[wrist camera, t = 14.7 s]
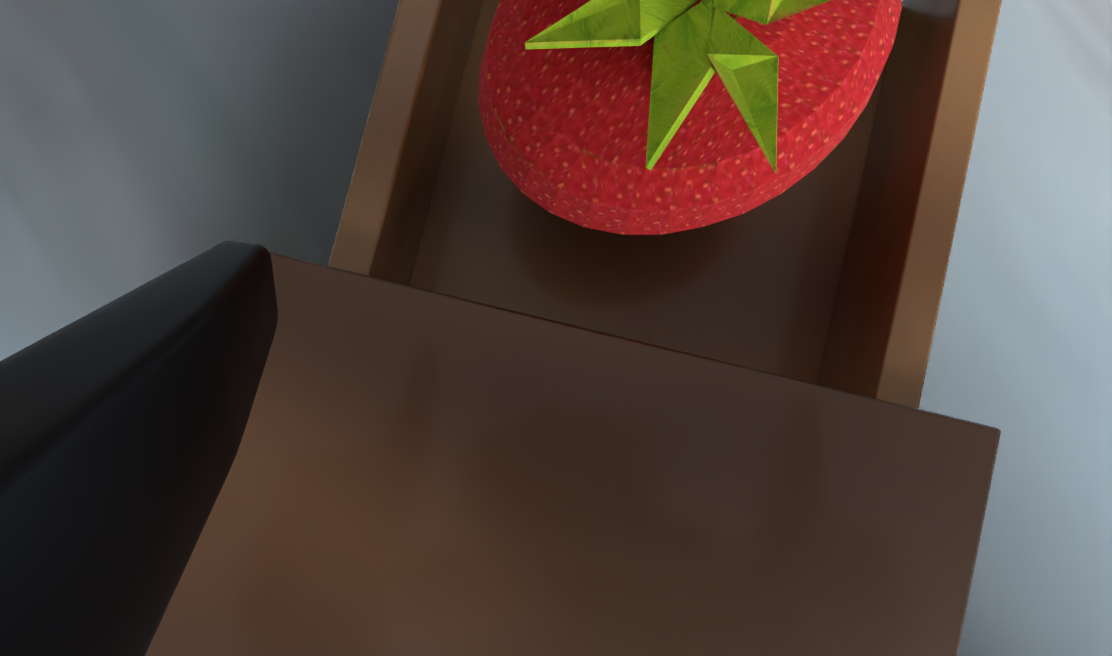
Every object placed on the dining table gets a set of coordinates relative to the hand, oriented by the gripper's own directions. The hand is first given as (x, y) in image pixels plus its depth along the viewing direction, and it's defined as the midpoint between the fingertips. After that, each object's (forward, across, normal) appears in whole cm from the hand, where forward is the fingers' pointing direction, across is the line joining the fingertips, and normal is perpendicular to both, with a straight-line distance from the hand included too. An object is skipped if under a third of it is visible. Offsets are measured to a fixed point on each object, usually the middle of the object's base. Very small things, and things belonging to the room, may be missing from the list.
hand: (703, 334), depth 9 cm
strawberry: (+12, 0, +4) cm, 13 cm away
